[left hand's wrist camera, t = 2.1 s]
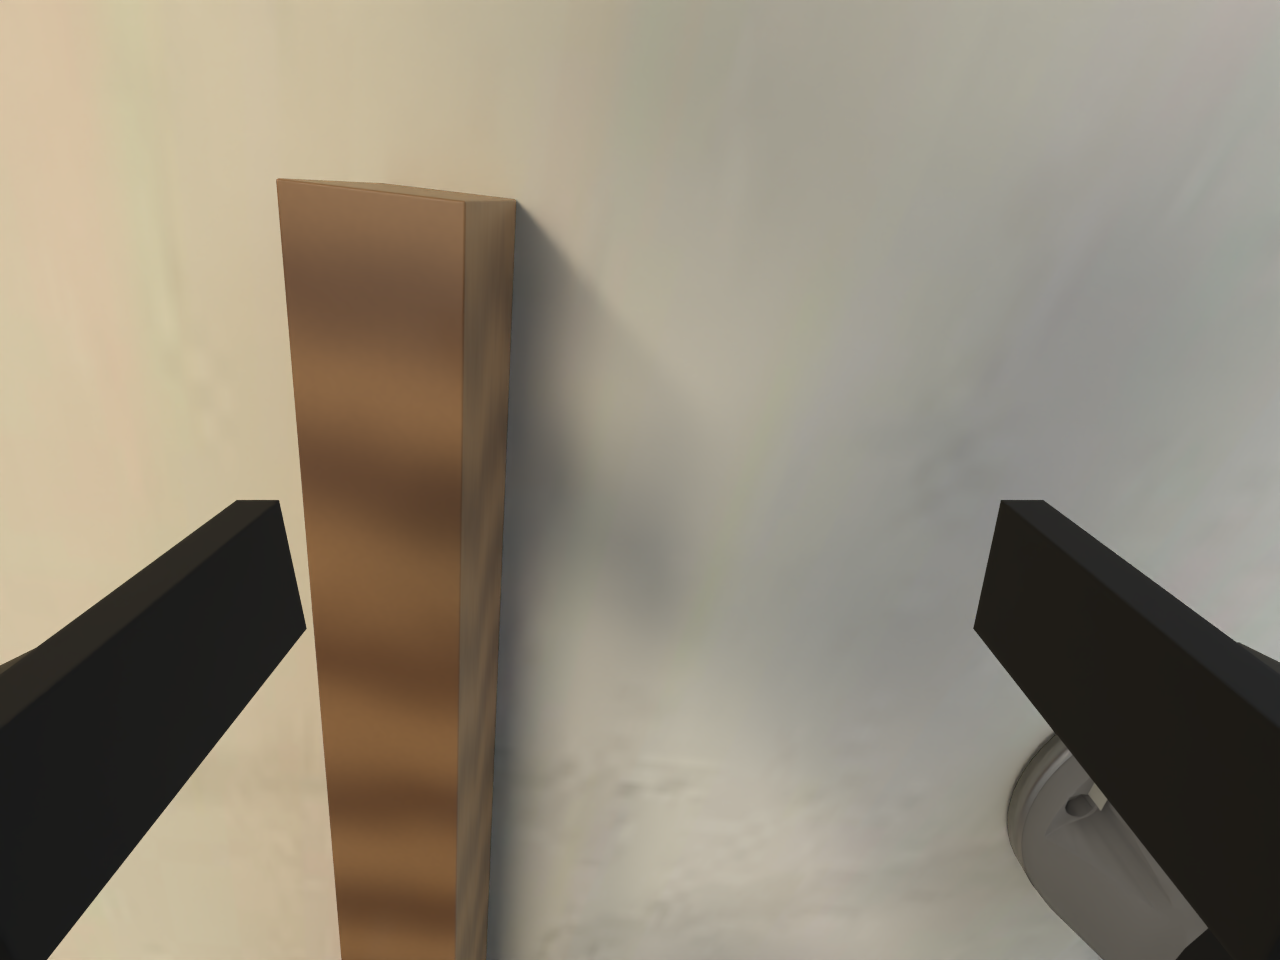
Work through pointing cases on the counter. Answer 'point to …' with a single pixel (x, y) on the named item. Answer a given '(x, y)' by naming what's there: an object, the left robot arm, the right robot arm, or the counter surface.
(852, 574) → the counter surface
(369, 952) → the bar
